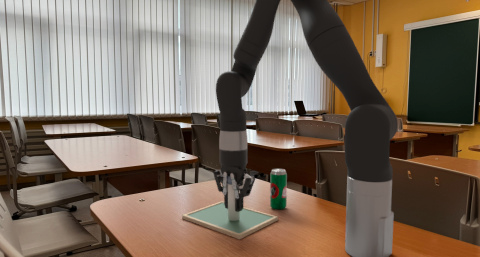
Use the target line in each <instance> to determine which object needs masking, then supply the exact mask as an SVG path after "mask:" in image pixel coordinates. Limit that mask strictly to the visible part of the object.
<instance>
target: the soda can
mask: <svg viewBox="0 0 480 257" xmlns="http://www.w3.org/2000/svg"><path fill="white" fill-rule="evenodd" d="M269 176H270V177H269V178H270V183H269V184H270V185H269V187H270V188H269V193H270V194H269V206H270V207H271V209H273V210H277V211H283V210H285V209H286V208H287V206H288V205H287V196H288V195H287V193H288V192H287V191H288V190H287V189H288V188H287V186H288V185H287V184H288V182H287V180H288V174H287V171H286V169H284V168H272V169H271V172H270V175H269Z"/></svg>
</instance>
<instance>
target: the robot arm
mask: <svg viewBox="0 0 480 257" xmlns="http://www.w3.org/2000/svg"><path fill="white" fill-rule="evenodd" d="M290 2H291V3H292V5H293V7H294V8H295V10H296V12H297V14H298V17H299V19H300V24H301V28H302V32H303V36H304V39H305V42H306V45H307V46H308V48H309V51H310V53H311V55H312V56H313V58H314V60H315V62H316V64H317V65H318V67H319V68H320V69H321V70H320V71H322V72H323V73H324V74H325V76H326V77H327V78H328V79H329V80H330V81H331V83H333V84H334V86H335V87H336V88H337V89H338V90H339V92H340V93H341V95H342V96H343V98H344V100H345V102H346V103H347V106H348V107H349V110H350V112H349V113H348V115H347V116H346V120H345V125H344V162H345V166H346V168H347V174H346V175H347V176H346V178H347V179H346V183H347V184H346V209H345V214H346V215H345V236H344V238H345V240H344V243H345V246H344V250H345V252H346V254H348V255H350V256H351V257H390V256H391V255H392V253H393V237H394V236H393V235H394V219H395V218H394V215H395V213H394V211H392V191H393V190H392V189H393V172H394V171H393V170H394V169H393V166H392V164H391V160H390V144H391V142H390V141H391V140H392V139H393V138H395V135H396V133H397V130H398V125H399V124H398V122H399V121H398V118H397V115H396V113H395V111H394V110H393V109H392V107H391V106H390V105H389V103H388V102H387V100H386V99H385V97H384V95H382V93H381V92H380V90H379V89H378V87H377V86H376V84H375V83H374V81H373V79H372V77H371V75H370V73H369V71H368V68H367V66H366V65H365V63H364V62H365V61H363V59H362V56H361V54H360V52H359V50H358V49H357V46H356V44H355V42H354V40H353V38H352V37H351V35H350V33H349V30H348V29H347V27H346V25H345V24H344V22H343V21H342V19H341V17H340V16H339V14H338V12H337V11H336V10H335V9H334V7H333V6H332V5H331V3H330V2H329V1H328V0H290ZM280 4H281V0H255V2H254V5H253V8H252V11H251V13H250V17H249V19H248V21H247V24H246V26H245V28H244V31H243V32H242V35H241V36H240V39H239V41H238V43H237V45H236V47H235V48H234V52H233V59H234V62H233V66H232V68H231V69H230V71H229V70H227V71H224V72H222V73H221V74H220V75H219V76H218V78H217V79H216V83H215V96H216V101H217V106H218V107H217V108H218V110H219V115H220V116H219V130H220V131H219V138H218V139H219V140H218V142H219V143H218V144H219V145H218V146H219V151H218V152H219V153H218V154H219V164H220V169H216V170H213V172H212V173H213V177H214V180H215V184H216V187H217V190H218V192H220V193H222V195H223V198H224V205H225V208H227V209H228V183H227V180H228V176H230V177H231V180H232V185H233V190H234V191H235V197H236V198H235V211H236V212H239V211H242V209H243V207H244V198H246V197H249V196H250V195H251V192H252V188H253V186H254V184H255V181H256V177H255V176H250V174H248V170H247V168H246V167H247V164H248V133H247V132H248V131H247V113H246V110H245V109H244V108H243V99H242V98H243V97H245V96H246V95H247V94H248V92H249V90H250V88H251V87H252V84H253V81H254V78H255V75H256V72H257V69H258V66H259V63H260V62H261V60H262V58H263V55H264V54H265V52H266V50H267V48H268V45H269V44H270V40H271V38H272V36H273V35H272V34H273V30H274V24H275V19H276V17H277V16H276V15H277V11H278V8H279V5H280ZM239 184H240V185H239ZM237 185H239V186H237ZM239 190H240V193H239Z"/></svg>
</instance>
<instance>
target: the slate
mask: <svg viewBox="0 0 480 257" xmlns="http://www.w3.org/2000/svg"><path fill="white" fill-rule="evenodd" d="M181 218H182V219H183V220H186V221H187V222H190V223H194V224H196V225H199V226H201V227H204V228H206V229H207V228H208V229H210V230H213V231H215V232H218V233H222V234H223V235H227V236H229V237H233V238H235V239H238V240H242V239H243V238H246V237H247V236H249V235H251V234H253V233H255V232H257V231H259V230H261V229H263V228H265V227H268V226H269V225H271V224H273V223H275V222H277V221H279V216H277V215H273V214H270V213H265V212H264V211H263V212H262V211H259V210H255V209H252V208H249V207H245V206H243V209H242V211H240V219H239V220H237V221H231V220H228V209H227V208H225V205H224V201H223V200H221V201H218V202H216V203H213V204H210V205H207V206H204V207H201V208H198V209H196V210H192V211H189V212H187V213H185V214H182V215H181Z"/></svg>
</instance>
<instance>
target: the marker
mask: <svg viewBox="0 0 480 257" xmlns="http://www.w3.org/2000/svg"><path fill="white" fill-rule="evenodd" d="M227 183H228V220H231V221H237V220H239V219H240V211H239V212H236V211H235V198H236V197H235V191H234V190H233V185H232V180H231V177H230V176H228V180H227ZM239 185H240V184H239ZM239 185H237V186H239ZM239 193H240V190H239Z"/></svg>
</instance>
